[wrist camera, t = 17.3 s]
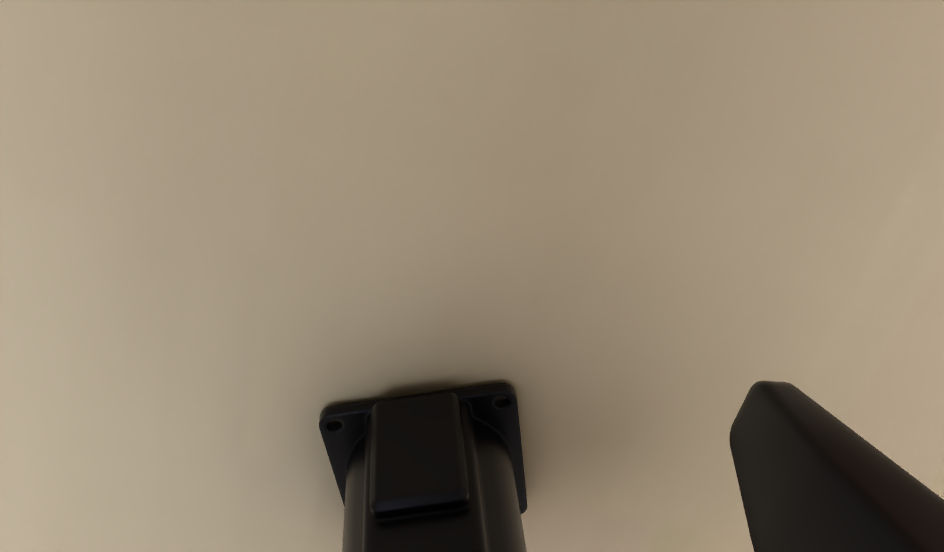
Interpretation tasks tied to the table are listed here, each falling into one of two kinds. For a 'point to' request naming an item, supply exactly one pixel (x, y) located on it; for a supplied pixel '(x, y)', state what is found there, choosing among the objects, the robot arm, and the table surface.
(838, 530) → the robot arm
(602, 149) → the table surface
